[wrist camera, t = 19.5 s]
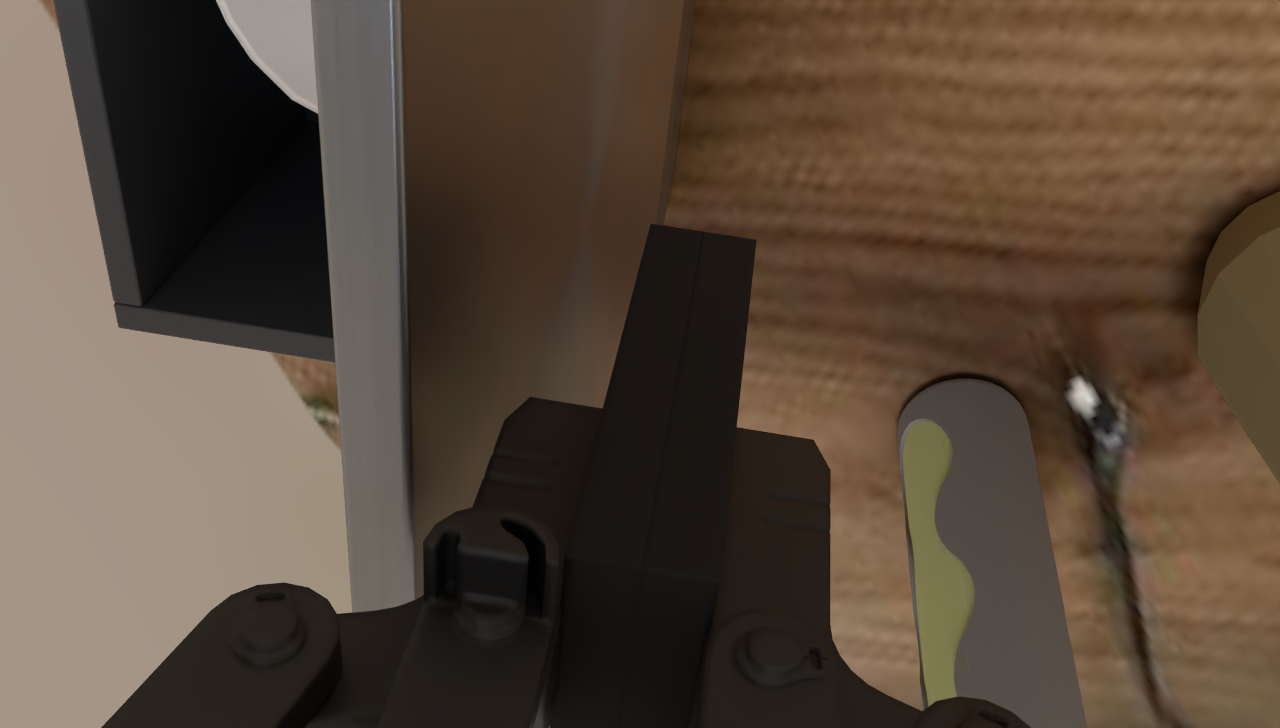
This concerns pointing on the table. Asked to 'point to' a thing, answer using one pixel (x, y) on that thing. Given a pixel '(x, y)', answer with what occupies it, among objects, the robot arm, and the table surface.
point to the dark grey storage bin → (215, 176)
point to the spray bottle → (983, 557)
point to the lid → (476, 235)
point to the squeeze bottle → (1246, 323)
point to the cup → (278, 42)
